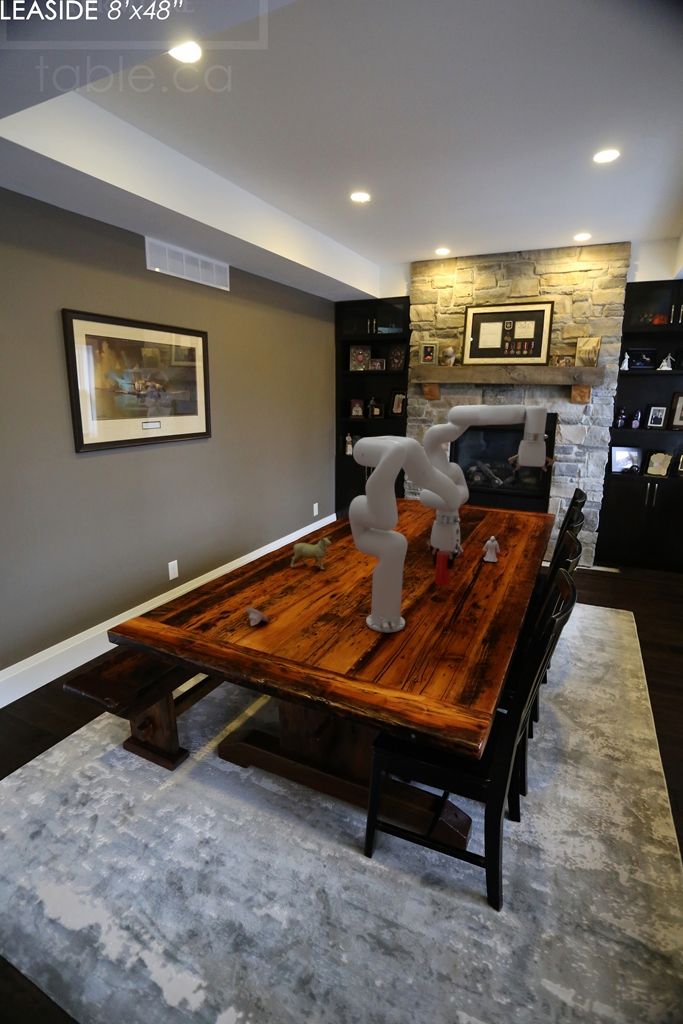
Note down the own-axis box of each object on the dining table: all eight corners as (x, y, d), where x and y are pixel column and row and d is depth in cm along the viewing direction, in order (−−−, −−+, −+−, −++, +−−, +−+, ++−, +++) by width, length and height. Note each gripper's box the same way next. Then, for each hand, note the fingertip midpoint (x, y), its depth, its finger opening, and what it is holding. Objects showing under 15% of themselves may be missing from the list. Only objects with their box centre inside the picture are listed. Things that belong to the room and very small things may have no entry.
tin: (452, 584, 185) (454, 553, 182) (440, 586, 183) (442, 555, 180) (444, 579, 190) (446, 549, 187) (432, 581, 188) (434, 551, 185)
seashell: (251, 634, 162) (235, 615, 161) (262, 623, 165) (246, 604, 164) (262, 630, 156) (245, 610, 155) (273, 618, 159) (257, 599, 158)
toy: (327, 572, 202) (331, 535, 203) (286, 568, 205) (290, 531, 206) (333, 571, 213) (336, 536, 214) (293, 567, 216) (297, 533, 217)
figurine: (481, 562, 222) (483, 536, 219) (482, 556, 230) (484, 531, 227) (499, 564, 220) (501, 538, 217) (499, 558, 228) (501, 533, 225)
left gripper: (473, 521, 178) (469, 569, 182) (431, 512, 189) (428, 558, 193) (462, 525, 172) (458, 574, 177) (420, 516, 183) (418, 563, 188)
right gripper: (554, 437, 200) (549, 479, 204) (509, 436, 203) (505, 477, 207) (559, 439, 193) (553, 483, 197) (512, 437, 195) (508, 480, 200)
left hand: (443, 565), depth 185 cm, fingers closed on tin, 5 cm apart
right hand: (528, 480), depth 202 cm, fingers open, 9 cm apart
